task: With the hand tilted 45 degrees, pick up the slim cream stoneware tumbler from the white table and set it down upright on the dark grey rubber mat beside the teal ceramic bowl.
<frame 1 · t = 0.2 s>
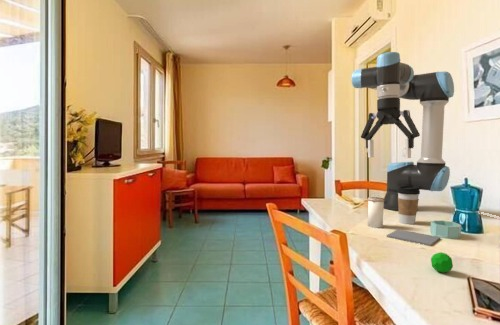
hand: (388, 157, 118), 27 cm above the table, tool pointing down, fingers open, 13 cm apart
mat: (413, 237, 114), on the table
bowl: (445, 235, 118), on the table
coffee cup: (407, 223, 135), on the table
tumbler: (375, 226, 129), on the table
polyhedron: (441, 272, 85), on the table
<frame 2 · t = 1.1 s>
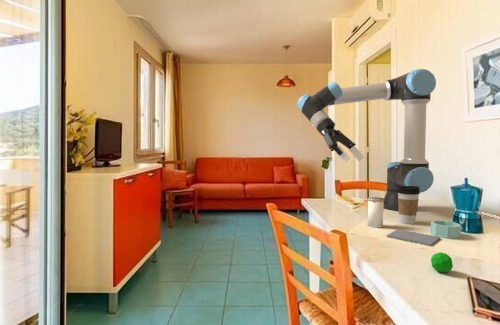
hand: (354, 159, 134), 26 cm above the table, tool tilted 45°, fingers open, 13 cm apart
nothing on the table moved.
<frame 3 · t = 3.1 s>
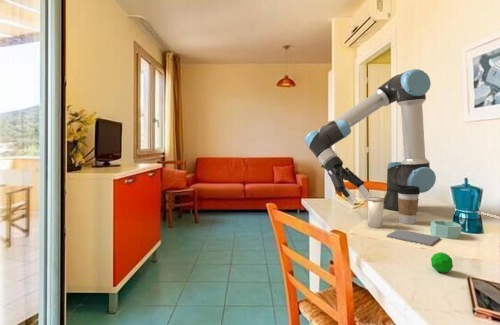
hand: (362, 201, 131), 9 cm above the table, tool tilted 45°, fingers open, 13 cm apart
nothing on the table moved.
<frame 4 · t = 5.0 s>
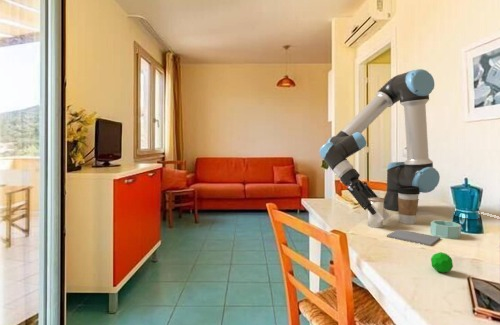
hand: (384, 219, 126), 3 cm above the table, tool tilted 45°, fingers closed on tumbler, 6 cm apart
tumbler: (375, 225, 129), on the table, touching gripper
everything else where it was.
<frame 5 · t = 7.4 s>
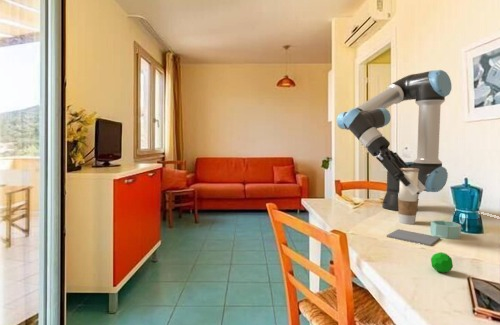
hand: (419, 191, 111), 16 cm above the table, tool tilted 45°, fingers closed on tumbler, 6 cm apart
tumbler: (407, 199, 114), point 13 cm above the table, touching gripper
everything else where it was.
when the fingers open (5 cm above the table, at t = 10.0 s): tumbler drops 1 cm, resting on mat.
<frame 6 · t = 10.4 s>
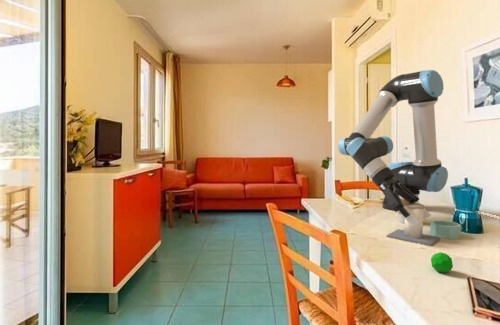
hand: (422, 221, 112), 6 cm above the table, tool tilted 45°, fingers open, 12 cm apart
tumbler: (413, 236, 114), point 1 cm above the table, touching mat
everything else where it was.
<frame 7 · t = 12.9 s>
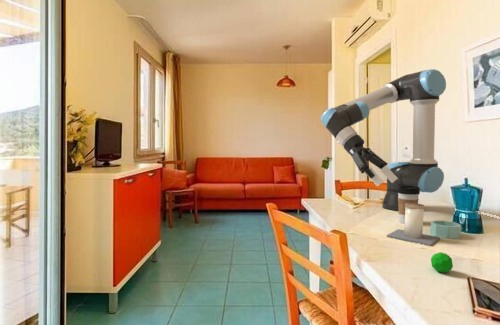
hand: (388, 182, 119), 18 cm above the table, tool tilted 45°, fingers open, 13 cm apart
nothing on the table moved.
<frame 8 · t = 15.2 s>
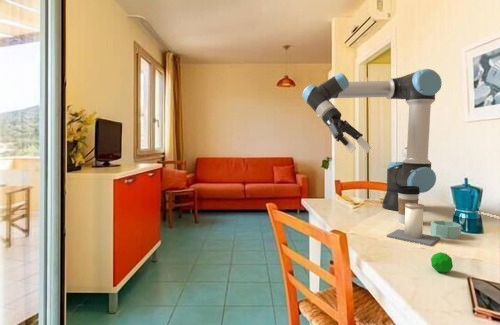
hand: (361, 150, 130), 30 cm above the table, tool tilted 45°, fingers open, 13 cm apart
nothing on the table moved.
at the end: tumbler inside the target area on the mat (0.1 cm from its centre), point 0.6 cm above the mat's base; tumbler tilted 0°; the gripper is holding nothing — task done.
